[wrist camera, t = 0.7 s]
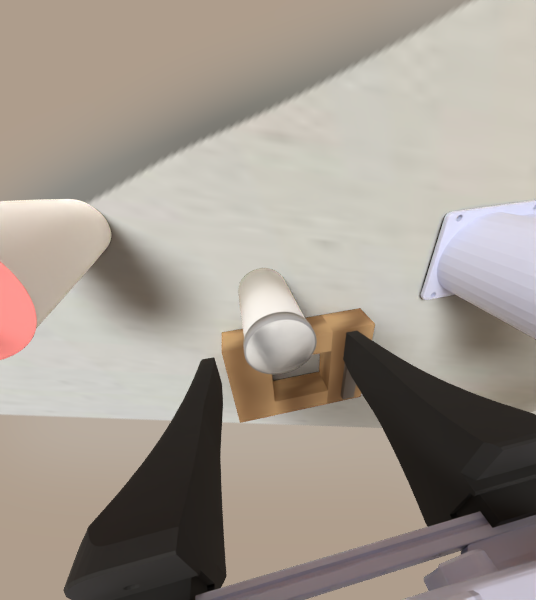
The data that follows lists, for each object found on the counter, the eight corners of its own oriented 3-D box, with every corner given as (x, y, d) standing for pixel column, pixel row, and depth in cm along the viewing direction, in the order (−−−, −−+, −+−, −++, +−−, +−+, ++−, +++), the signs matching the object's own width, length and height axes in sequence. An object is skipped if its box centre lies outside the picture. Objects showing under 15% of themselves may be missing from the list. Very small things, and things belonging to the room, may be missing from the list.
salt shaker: (286, 263, 18) (317, 312, 12) (288, 307, 20) (315, 367, 14) (233, 271, 18) (238, 325, 12) (241, 315, 20) (249, 380, 14)
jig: (360, 308, 22) (378, 327, 19) (349, 378, 27) (362, 400, 24) (221, 332, 20) (221, 356, 18) (238, 401, 25) (240, 427, 23)
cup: (84, 281, 16) (-151, 483, 6) (3, 211, 13) (-709, 366, 3) (146, 242, 15) (3, 393, 5) (75, 160, 13) (-519, 148, 3)
